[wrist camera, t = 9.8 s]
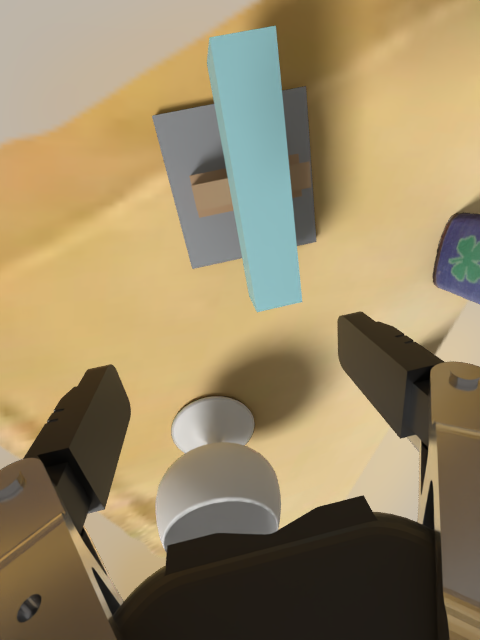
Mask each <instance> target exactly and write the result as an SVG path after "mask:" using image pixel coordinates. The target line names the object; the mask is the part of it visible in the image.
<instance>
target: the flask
mask: <svg viewBox="0 0 480 640" xmlns="http://www.w3.org/2000/svg"><path fill="white" fill-rule="evenodd" d="M432 277H433V282H434V285H436V286H437V287H438V288H441V289H443V290H446V291H449V292H451V293H453V294H456V295H458V296H461V297H463V298H465V299H468V300H470V301H473V302H476V303H478V304H480V214H470V213H461V214H454V215H452V217H451V218H450V219H449V220H448V222H447V224H446V226H445V229H444V231H443V234H442V236H441V240H440V241H439V245H438V249H437V256H436V260H435V266H434V272H433V276H432Z"/></svg>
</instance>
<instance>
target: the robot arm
mask: <svg viewBox="0 0 480 640" xmlns="http://www.w3.org/2000/svg"><path fill="white" fill-rule="evenodd" d="M338 356H339V361H340V364H341V366H342V368H343V370H344V371H345V372H346V373H347V375H348V376H349V377H350V378H351V379H352V381H353V382H354V383H355V384H356V385H357V387H358V388H359V389H360V390H361V391H362V393H363V394H364V395H365V396H366V397H367V399H368V400H369V401H370V402H371V404H372V405H373V406H374V407H375V408H376V410H377V411H378V412H379V413H380V414H381V416H382V417H383V418H384V419H385V420H386V422H387V423H388V424H389V425H390V427H391V428H392V429H393V430H394V431H395V433H397V435H398V436H399V437H400V438H404V437H407V438H408V439H409V441H410V442H411V443H412V444H413V445H414V447H415V448H416V449H417V450H418V451H419V505H418V520H417V522H415V521H413V520H410V519H407V518H404V517H401V516H397V515H393V514H387V513H381V512H372V510H371V508H370V506H369V505H368V503H367V501H366V499H365V497H364V496H359V497H355V498H351V499H347V500H343V501H340V502H336V503H332V504H328V505H324V506H320V507H317V508H315V509H313V510H311V511H310V512H308V513H306V514H305V515H303V516H301V517H300V518H298V519H296V520H295V521H293V522H291V523H290V524H288V525H286V526H284V527H283V528H281V529H279V530H278V531H276V532H274V533H271V534H239V533H214V534H210V535H206V536H202V537H198V538H195V539H191V540H187V541H183V542H179V543H175V544H171V545H167V557H166V566H164V567H162V568H161V569H159V570H158V571H156V572H155V573H154V574H152V575H151V576H149V577H148V578H147V579H146V580H145V581H144V582H142V583H141V584H140V585H139V586H138V587H137V588H136V589H135V590H134V591H133V592H132V593H131V594H130V595H129V597H127V599H126V600H125V601H123V599H122V597H121V596H120V594H119V592H118V590H117V589H116V587H115V585H114V583H113V581H112V579H111V577H110V576H109V573H108V571H107V569H106V567H105V565H104V563H103V562H102V559H101V557H100V555H99V553H98V551H97V549H96V548H95V546H94V544H93V542H92V539H91V537H90V535H89V534H88V532H87V530H86V528H85V527H84V522H85V519H86V516H87V514H88V513H92V512H96V511H100V510H104V509H105V506H106V503H107V499H108V496H109V492H110V488H111V485H112V481H113V478H114V474H115V470H116V467H117V463H118V460H119V456H120V453H121V449H122V445H123V442H124V438H125V435H126V431H127V427H128V424H129V420H130V415H131V408H130V402H129V399H128V397H127V394H126V392H125V390H124V387H123V385H122V382H121V380H120V378H119V375H118V373H117V370H116V368H115V367H114V366H113V365H106V366H101V367H97V368H92V369H88V370H87V371H86V373H85V374H84V376H83V378H82V380H81V381H80V383H79V385H78V386H77V387H74V388H72V389H71V390H70V391H69V392H68V393H67V394H66V395H65V396H64V397H63V398H61V400H60V401H59V403H58V405H57V406H56V408H55V409H54V413H52V414H51V416H50V417H49V419H48V420H47V423H46V424H45V425H44V427H43V428H42V430H41V431H40V433H39V435H38V436H37V438H36V439H35V441H34V443H33V444H32V446H31V447H30V449H29V450H28V452H27V454H26V455H25V457H24V458H23V459H21V460H19V461H16V462H14V463H11V464H9V465H8V466H6V467H4V468H2V469H1V470H0V640H480V367H479V366H475V365H473V364H468V363H463V362H444V361H442V360H441V359H439V358H438V357H437V356H435V355H434V354H432V353H431V352H429V351H428V350H426V349H425V348H424V347H422V346H421V345H419V344H418V343H416V342H413V340H412V339H411V338H409V337H408V336H404V334H403V333H402V332H400V331H399V330H397V329H396V328H395V327H393V326H390V325H387V324H384V323H381V322H375V321H374V320H372V319H371V318H370V317H368V316H367V315H366V314H364V313H363V312H356V313H351V314H347V315H342V316H339V318H338Z"/></svg>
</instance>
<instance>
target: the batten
mask: <svg viewBox="0 0 480 640" xmlns="http://www.w3.org/2000/svg"><path fill="white" fill-rule="evenodd" d="M207 66H208V72H209V77H210V83H211V88H212V94H213V99H214V105H215V110H216V116H217V121H218V127H219V132H220V138H221V143H222V149H223V154H224V160H225V165H226V171H227V176H228V182H229V187H230V193H231V198H232V204H233V209H234V215H235V221H236V226H237V232H238V237H239V243H240V248H241V254H242V259H243V265H244V270H245V276H246V281H247V287H248V292H249V297H250V299H251V301H252V303H253V305H254V307H255V309H256V311H257V312H260V311H264V310H269V309H273V308H277V307H282V306H286V305H291V304H295V303H299V302H302V295H301V285H300V275H299V264H298V254H297V243H296V233H295V222H294V212H293V201H292V191H291V180H290V170H289V159H288V149H287V139H286V128H285V118H284V107H283V97H282V86H281V76H280V65H279V55H278V44H277V34H276V26H271V27H265V28H260V29H254V30H249V31H243V32H238V33H232V34H227V35H221V36H216V37H210V38H209V48H208V58H207Z"/></svg>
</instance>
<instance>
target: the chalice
mask: <svg viewBox="0 0 480 640" xmlns="http://www.w3.org/2000/svg"><path fill="white" fill-rule="evenodd" d="M254 426H255V423H254V417H253V415H252V413H251V411H250V410H249V409H248V408H247V407H246V406H245V405H244V404H243V403H241V402H239V401H238V400H235V399H232V398H229V397H222V396H211V397H206V398H201V399H198V400H196V401H194V402H191V403H190V404H188V405H187V406H185V407H184V408H183V409H182V410H181V411H180V412H179V413H178V414H177V415H176V417H175V419H174V420H173V423H172V427H171V435H172V438H173V441H174V443H175V444H176V446H177V447H178V448H179V449H180V450H181V451H183V452H184V453H185V454H184V455H182V456H181V457H180V458H178V459H177V460H176V461H175V462H174V463H173V464H172V465H171V466H170V467H169V468H168V469H167V471H166V473H165V474H164V476H163V478H162V480H161V482H160V484H159V487H158V492H157V497H156V519H157V526H158V531H159V536H160V540H161V542H162V545H163V547H164V549H165V551H166V552H167V545H171V544H175V543H179V542H183V541H187V540H191V539H195V538H198V537H202V536H206V535H210V534H214V533H239V534H271V533H274V532H276V531H278V527H279V522H280V511H281V497H280V489H279V484H278V480H277V476H276V473H275V471H274V470H273V468H272V466H271V465H270V463H269V462H268V461H267V460H266V459H265V458H264V457H263V456H262V455H261V454H260V453H258V452H256V451H255V450H253V449H251V448H249V447H247V446H245V445H246V444H247V443H248V441H249V440H250V438H251V437H252V434H253V432H254Z"/></svg>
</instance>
